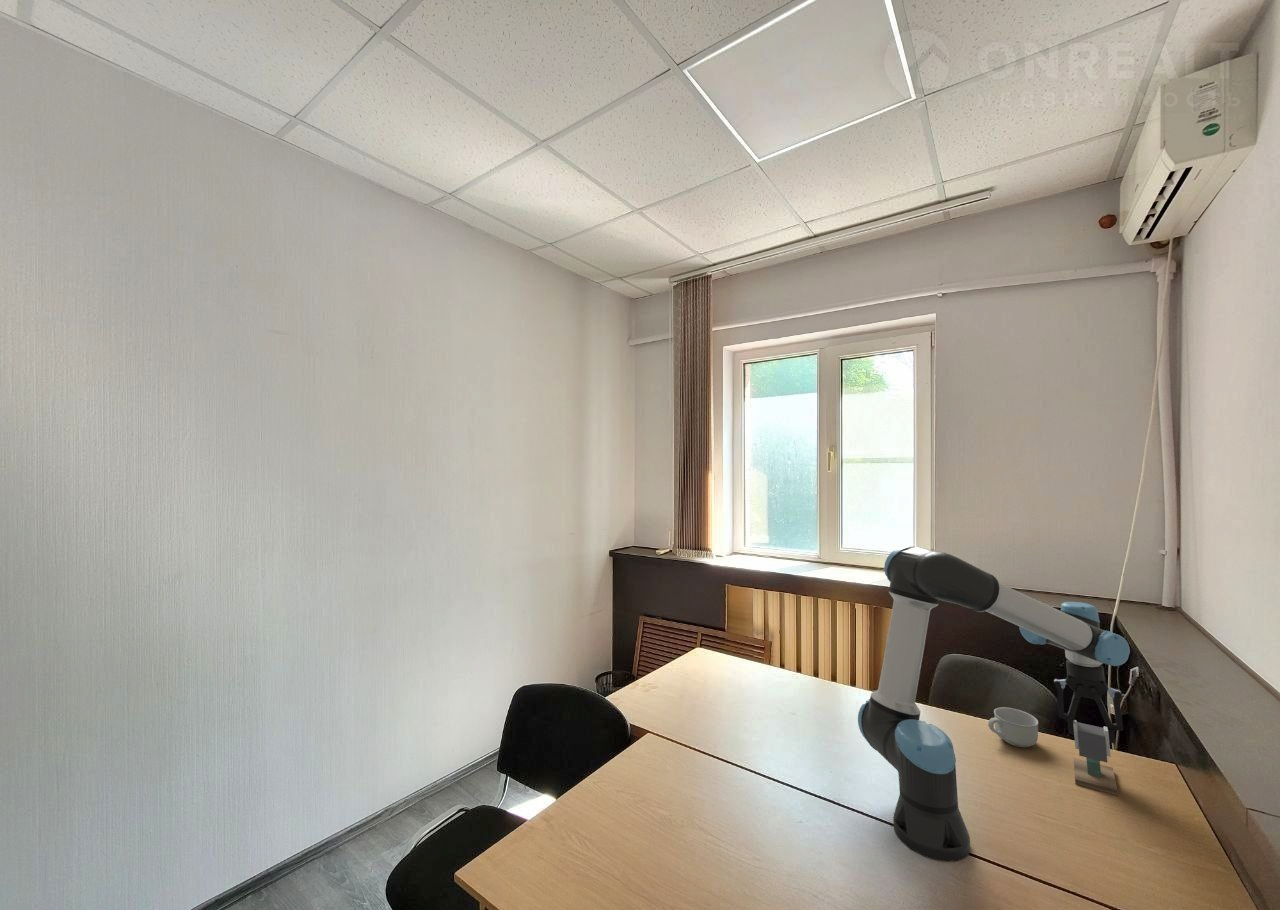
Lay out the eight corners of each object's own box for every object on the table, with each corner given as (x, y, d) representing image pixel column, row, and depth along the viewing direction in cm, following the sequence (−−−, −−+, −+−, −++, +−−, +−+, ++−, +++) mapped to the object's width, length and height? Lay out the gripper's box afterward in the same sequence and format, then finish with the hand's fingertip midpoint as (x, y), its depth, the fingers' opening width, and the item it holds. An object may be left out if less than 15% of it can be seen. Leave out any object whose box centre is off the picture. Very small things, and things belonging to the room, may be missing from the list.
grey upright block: (1107, 762, 126) (1105, 736, 126) (1079, 755, 130) (1077, 730, 130) (1105, 753, 130) (1103, 727, 131) (1078, 746, 134) (1076, 722, 134)
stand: (1117, 795, 122) (1114, 761, 123) (1075, 783, 128) (1072, 751, 128) (1113, 772, 132) (1110, 741, 132) (1073, 762, 137) (1071, 732, 137)
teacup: (1024, 733, 153) (1022, 707, 153) (1049, 752, 142) (1047, 724, 142) (977, 732, 154) (975, 706, 155) (998, 751, 143) (996, 724, 144)
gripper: (1130, 664, 128) (1139, 755, 127) (1040, 651, 140) (1047, 734, 139) (1134, 674, 122) (1143, 769, 121) (1039, 659, 134) (1047, 745, 133)
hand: (1092, 750), depth 130 cm, fingers closed on grey upright block, 5 cm apart
